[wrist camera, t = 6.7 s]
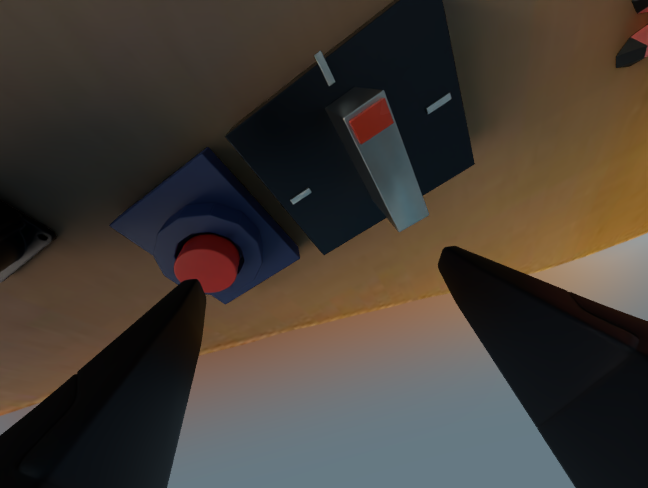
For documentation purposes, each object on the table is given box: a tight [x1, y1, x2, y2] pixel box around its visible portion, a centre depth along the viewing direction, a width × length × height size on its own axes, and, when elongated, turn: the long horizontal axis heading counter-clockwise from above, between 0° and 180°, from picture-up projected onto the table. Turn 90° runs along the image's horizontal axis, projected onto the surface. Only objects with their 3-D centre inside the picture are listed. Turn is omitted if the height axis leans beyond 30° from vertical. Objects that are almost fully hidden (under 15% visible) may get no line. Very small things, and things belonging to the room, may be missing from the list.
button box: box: [109, 147, 300, 304], centre depth 17 cm, size 8×10×4 cm
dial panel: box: [225, 0, 475, 255], centre depth 15 cm, size 12×11×3 cm
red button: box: [174, 234, 240, 293], centre depth 16 cm, size 4×4×2 cm
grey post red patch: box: [325, 87, 429, 232], centre depth 12 cm, size 6×2×4 cm, turn 31°
